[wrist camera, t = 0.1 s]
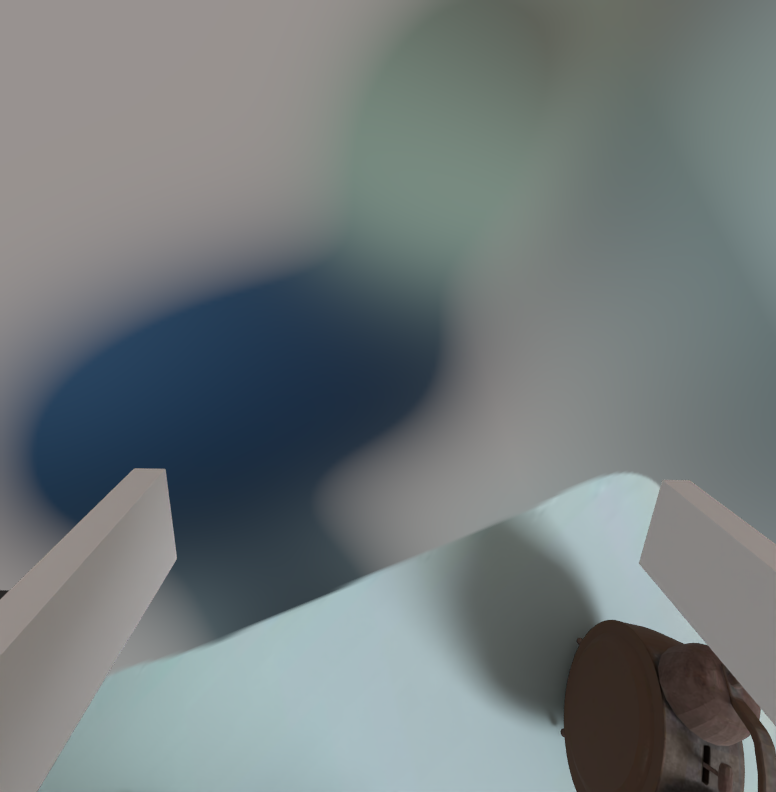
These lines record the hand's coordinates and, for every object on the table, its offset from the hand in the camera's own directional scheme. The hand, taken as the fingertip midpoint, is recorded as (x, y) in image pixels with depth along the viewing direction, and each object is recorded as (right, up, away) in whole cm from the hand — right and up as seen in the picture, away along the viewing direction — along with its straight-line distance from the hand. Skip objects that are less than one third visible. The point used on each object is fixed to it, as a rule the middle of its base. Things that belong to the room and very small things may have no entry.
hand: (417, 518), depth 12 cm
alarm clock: (+19, -25, +31) cm, 45 cm away
